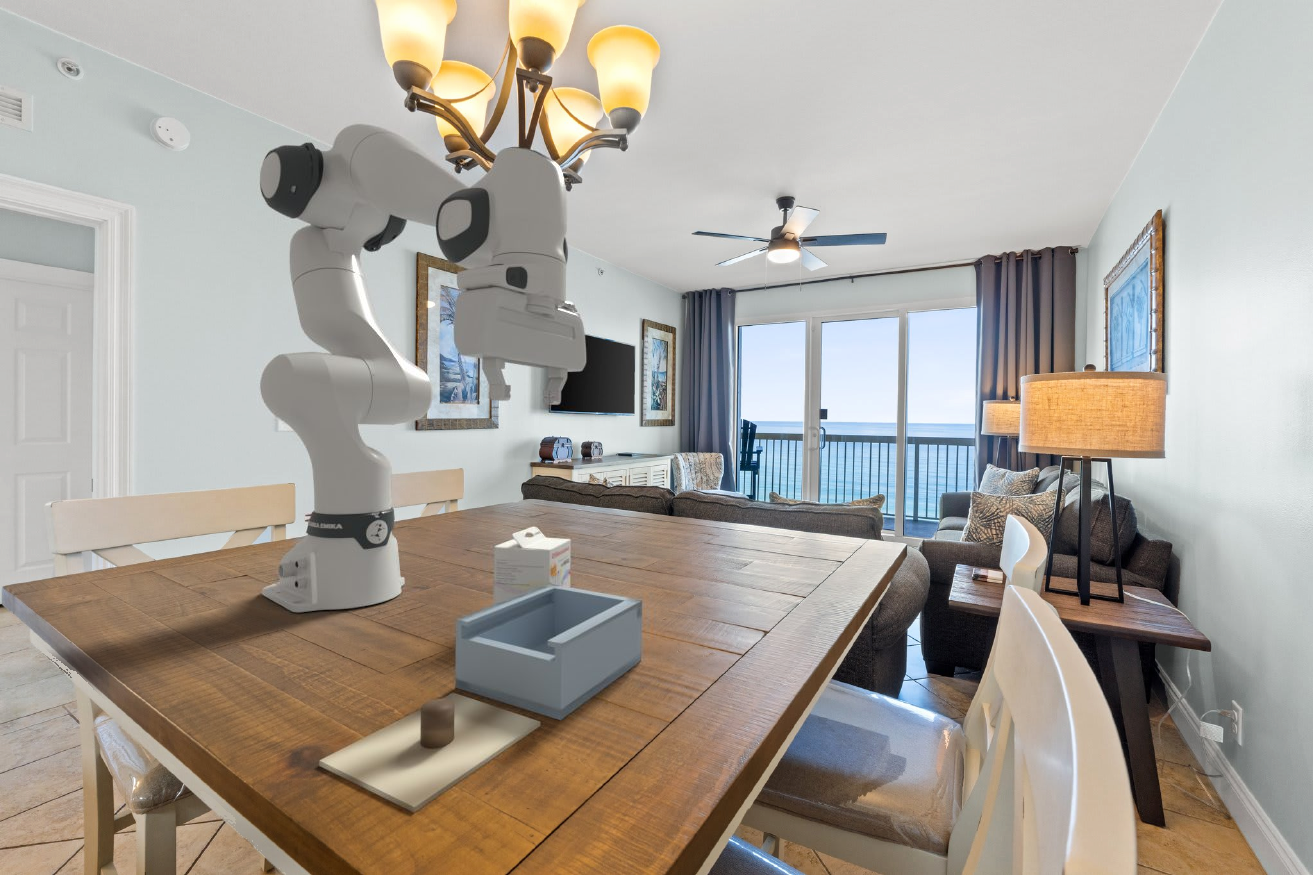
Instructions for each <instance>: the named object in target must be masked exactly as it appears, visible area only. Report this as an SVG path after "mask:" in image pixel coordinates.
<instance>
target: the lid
mask: <svg viewBox="0 0 1313 875" xmlns="http://www.w3.org/2000/svg"><path fill="white" fill-rule="evenodd" d="M539 727H541V721H539V720H537V719H533V718H530V717H528V716H525V715H522V714H519V713H515V712H513V711H511V710H510V711H509V710H507V709H503V708H500V707H497V706H494V705H491V704H488V703H486V702H483V701H480V700H476V699H473V698H472V697H467V696H465V695H461V694H459V693H455V692H452V693H449V694H448V695H446V696H444V697H442V698H435V699H432V700H429V701H426V702H425V703H423V704H422V705H421V707H420V709H418V710H417V711H414V712H413V713H410V714H408V715H406V716H405V717H402V718H400V719H399V720H397V721H394V722H392V723H391V724H389V725H387V726H384V727H382V728H381V729H378V730H376V731H375V732H373V733H371V734H368V735H366V736H365V737H363V738H361V739H359V740H357V741H355V742H353V743H351V744H349V745H347V746H345V747H343V748H341V749H339V750H337V751H335V752H333V753H331V754H329V755H327V756H325V757H323V758H322V759H319V761H318V763H319V764H318V765H319V767H321V768H323V769H325V770H327V771H329V772H331V773H334V775H338V776H339V777H341V778H343V779H345V780H347V781H349V782H352V783H353V784H356V785H357V786H360V787H361V788H364V789H366V790H367V791H369V792H372V793H373V794H376V795H378V796H380V797H382V798H383V799H385V800H388V801H390V802H391V803H394V804H396V805H398V806H400V807H402V808H404V809H406V810H408V811H410V812H412V813H414V814H415V813H417V812H418V811H420V810H421V809H423V808H424V807H425V806H426V804H427V805H428V804H430V803H431V802H433V801H434V800H436V799H437V798H438V797H439V795H440V796H441V795H443V794H444V793H446V792H447V791H449V790H450V789H451V788H453V787H454V786H456V785H457V784H458V783H460V782H462V780H464V779H466V778H467V777H468V776H470V775H471V774H473V773H474V772H475V771H477V770H479V769H480V768H481V767H483V766H485V765H486V764H487V763H489V762H490V761H491V760H493V759H494V758H496V757H498V756H499V755H500V754H502V753H503V752H505V751H506V750H507V749H509V748H510V747H512V746H513V745H514V744H516V743H517V742H519V741H521V740H522V739H523V738H524V737H525V738H526V736H528V735H529V734H530V733H532V732H533V731H534V730H536V729H538V728H539ZM436 797H437V798H436ZM429 802H430V803H429ZM423 806H424V807H423ZM417 810H418V811H417Z"/></svg>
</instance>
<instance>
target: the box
mask: <svg viewBox="0 0 1313 875" xmlns="http://www.w3.org/2000/svg"><path fill="white" fill-rule="evenodd" d="M642 631H643V600H642V599H638V598H630V597H627V596H620V595H615V594H609V593H603V592H597V591H593V590H586V589H580V588H576V587H571V586H570V587H564V586H559V585H553V584H548V585H545V586H543V587H540V588H537V589H535V590H532V591H529V592H527V593H524V594H522V595H519V596H516V597H514V598H511V599H508V600H506V601H503V602H500V603H498V604H495V605H494V604H493V605H490V606H488V607H485V608H482V609H480V610H477V611H474V612H471V613H468V614H466V615H462V616H461V617H458V618H456V619H455V671H454V672H455V676H454V678H455V680H454V681H455V682H454V685H455V686H454V687H455V689H458V690H462V691H466V692H469V693H471V694H475V695H478V696H480V697H484V698H488V699H491V700H493V701H498V702H500V703H504V704H507V705H510V706H513V707H516V708H519V709H523V710H527V711H529V712H533V713H536V714H538V715H539V714H540V715H543V716H545V717H549V718H552V719H556V720H559V721H562V720H563V719H565V718H566V717H567V716H568V715H570V714H571V713H572V712H574V711H575V710H577V709H578V708H580V707H581V706H582V705H584V704H585V703H586V702H588V701H589V700H590V699H592V698H593V697H594V696H596V695H597V694H599V693H600V692H601V691H602V690H604V689H605V688H607V687H608V686H609V685H611V684H612V683H614V681H616V680H617V679H618V678H621V677H622V676H623V675H624V674H626V673H627V672H628V671H629V670H631V669H633V667H635V666H637V665H638V664H639V663H640V662H642V644H643V643H642V641H643V640H642V636H643V632H642Z"/></svg>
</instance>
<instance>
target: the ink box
mask: <svg viewBox="0 0 1313 875" xmlns="http://www.w3.org/2000/svg"><path fill="white" fill-rule="evenodd" d="M511 534H512V535H511V536H512V538H513V539H510V540H508V541H504V542H502V543H499V544H496V545H495V546H494V545H493V546H494V547H493V605H495V604H498V603H500V602H503V601H506V600H508V599H511V598H514V597H516V596H519V595H522V594H524V593H527V592H529V591H532V590H535V589H537V588H540V587H543V586H545V585H548V584H553V585H559V586H564V587H570V588H571V546H572V544H571V542H572V540H571V539H570V538H555V537H554V538H553V537H546V536H545V535H544V534H543V533H542V531H541V530H540V529H539V528H538V527H536V526H531V527H528V528H526V529H523V530H520V531H516V532H513V533H511ZM526 534H531V535H532V536H529V537H528V536H526Z"/></svg>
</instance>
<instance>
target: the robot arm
mask: <svg viewBox="0 0 1313 875" xmlns="http://www.w3.org/2000/svg"><path fill="white" fill-rule="evenodd" d="M494 158H495V159H494V161H493V162H492V165H491V166H490V167H491V168H490V169H489V170H488V172H487V173H486V174H485V175H484V176H483V177H481V178H480V179H478V181H477V182H475V183H474V184H473V185H472V186H468V185H467V183H464V182H463V181H462V180H461V179H459V178H458V177H456V176H455V175H454V174H452V173H451V172H450V171H449V170H447V169H446V168H445V167H443V166H442V165H441V164H440V163H438V162H437V161H436V160H435V159H433V157H431V156H430V155H429V154H427V153H426V152H424V150H422V149H421V148H420V147H418V146H416V145H415V144H413V143H412V142H411V141H409V140H408V139H406V138H405V137H403V136H401V135H399V134H398V133H396V132H393V131H391V130H389V129H386V128H383V127H380V126H376V125H372V124H364V123H356V124H351V125H348V126H345V127H344V128H342V129H341V131H340V132H338V134H337V135H336V137H335V139H334V142H333V144H332V147H331V149H329V150H320V149H318V148H316V147H315V145H314V144H313V142H304V143H302V144H300V145H294V144H293V145H289V144H287V145H280V146H278V147H275V148H273V149H271V150H269V151H268V152H267V154H266V155H265V157H264V159H263V162H262V164H261V167H260V172H259V187H260V192H261V196H262V197H263V199H264V201H265V204H266V205H267V206H268V207H269V208H270V209H271V210H274V211H275V212H277V213H279V214H281V215H284V216H285V217H287V218H290V219H291V220H292V219H298V220H300V221H302V222H305V223H307V224H310V225H306V226H303V227H302V228H300V229H298V230H297V231H296V232H295V233H294V234H293V235H292V237H291V240H290V243H289V272H290V273H289V274H290V280H291V285H292V291H293V295H294V301H295V305H296V309H297V313H298V314H297V316H298V319H299V323H300V327H301V329H302V331H303V332H304V334H305V335H306V336H307V337H308V339H309V340H310V341H311V342H313V343H314V344H315V345H317V346H319V347H321V348H323V349H324V350H326V351H327V352H317V351H306V352H303V351H302V352H291V353H281V354H278V355H276V356H275V357H273V358H272V359H271V360H270V361H269V362H268V364H267V365H266V366H265V368H264V370H263V372H262V374H261V377H260V383H259V384H260V385H259V386H260V387H259V390H260V394H261V398H262V400H263V402H264V405H265V406H266V407H267V409H268V410H269V411H270V413H272V414H273V415H274V416H275V417H277V418H278V419H279V420H281V421H283V422H284V423H285V424H287V426H289V428H290V429H292V430H293V431H294V432H295V433H296V435H297V436H298V437H299V439H300V440H301V442H302V444H303V445H304V447H305V449H306V450H307V453H308V455H309V459H310V462H311V467H312V476H313V478H312V479H313V480H312V481H313V494H314V495H313V497H314V498H313V499H314V503H313V504H314V506H313V509H314V510H313V511H312V512H311V513H308V514H305V515H304V516H305V517H309V518H308V519H304V522H308V523H307V528H306V532H305V533H306V534H307V535H305V536H304V537H303V538H302V539H301V540H300V541H299V542H298V543H297V544H296V545H295V546H293V547H292V549H290V550H289V551H287V552H286V554H284V555H283V557H282V558H281V561H280V564H279V565H278V568H277V570H278V571H277V572H278V575H279V581H278V582H275V583H272V584H270V585H267V586H264V587H263V588H262V590H261V595H262V596H264V597H265V598H268V599H269V600H271V601H273V602H275V603H276V604H278V605H280V606H282V607H284V608H285V609H287V610H289V611H290V612H293V613H304V612H313V611H323V610H324V611H325V610H345V609H355V608H361V607H365V606H371V605H376V604H379V603H383V602H386V601H389V600H391V599H394V598H396V597H398V596H399V595H401V593H402V587H403V586H404V585H405V583H406V581H405V579H406V578H405V577H404V576H401V570H400V569H401V568H400V558H399V556H400V555H399V547H398V540H397V538H396V537H395V536H394V534H393V532H392V531H393V530H394V529H395V521H396V515H395V509H394V508H393V507H392V476H393V475H392V474H393V473H392V472H393V470H392V468H393V467H392V466H391V463H390V461H389V459H388V458H387V457H386V456H385V455H384V454H383V452H380V451H378V450H377V449H375V448H373V447H370V446H369V445H367V444H366V443H365V441H364V440H363V439H362V436H361V434H360V432H359V431H360V430H359V425H378V426H379V425H380V426H381V425H383V426H384V425H385V426H386V425H387V426H388V425H389V426H390V425H391V426H393V425H401V424H405V423H410V422H414V421H419V420H421V419H422V418H424V416H426V414H427V413H428V411H429V410H430V408H431V406H432V402H433V397H434V393H433V392H434V391H433V384H432V382H431V380H430V378H429V376H428V374H427V373H426V371H424V370H423V369H422V368H420V367H419V366H417V365H415V363H413V362H411V361H410V360H409V359H407V358H406V357H405V356H404V355H403V354H402V353H401V352H400V351H399V350H398V348H396V346H395V345H394V344H393V343H392V342H391V340H390V339H389V337H388V336H387V334H386V333H385V332H384V331H383V329H382V327H381V325H380V323H379V322H378V319H377V315H376V313H375V309H374V307H373V304H372V300H371V297H370V292H369V289H368V285H367V281H366V279H365V278H366V277H365V274H364V271H363V267H362V263H361V252H362V250H363V249H364V250H365V251H367V252H370V253H371V252H372V253H373V252H378V251H380V249H381V247H383V246H385V245H388V244H390V243H391V242H393V241H394V240H395V239H397V238H398V237H399V236H400V235H401V234H402V233H403V232H404V230H405V228H406V225H407V222H408V221H410V222H413V223H414V222H415V223H417V224H418V223H419V224H423V225H426V226H431V227H435V233H436V239H437V243H438V247H439V248H440V251H441V253H442V254H443V256H444V257H445V258H446V260H447V261H449V262H450V263H453V264H455V265H456V266H459V267H462V268H464V269H465V270H460V271H458V272H457V274H456V285H457V288H458V289H459V290H460V291H461V292H460V293H459V294H458V295H457V297H456V300H455V305H454V315H453V341H454V342H453V343H454V345H455V348H456V349H457V352H458V353H459V354H460V356H464V357H470V358H476V359H481V362H482V363H481V367H482V368H481V369H482V371H483V373H484V376H485V378H486V380H487V383H488V384H489V398H490V400H491V401H496V402H497V401H499V402H500V401H501V402H506V401H507V402H508V401H510V400H511V397H512V395H511V392H512V391H511V387H512V385H510V384H507V382H506V379H505V376H504V374H503V370H505V369H506V363H507V364H513V365H514V364H515V365H520V366H526V367H531V368H538V369H545V370H547V377H548V379H549V382H548V386H547V389H546V390H545V389H543V391H542V397H543V398H542V402H543V403H544V404H545V405H560V404H561V402H562V390H563V388H564V387H565V384H566V382H567V380H568V372H570V373H572V372H574V373H575V372H582V371H583V370H584V369H585V367H586V365H587V347H586V346H587V345H586V334H585V326H584V323H583V320H582V318H581V314H580V313H579V311H578V310H577V308H576V305H575V304H574V303H573V302H571V301H567V299H566V298H567V296H566V295H567V291H566V290H567V263H568V260H569V259H568V258H569V249H568V248H569V247H568V243H567V238H566V234H567V226H568V224H567V222H568V208H567V207H568V206H567V205H568V204H567V191H566V184H565V177H564V173H563V171H562V169H561V165H559V164H558V163H557V162H556V161H555V160H553V159H552V158H550V157H549V156H547V155H546V154H543V153H541V152H540V151H537V150H535V149H530V148H526V147H521V146H510V147H505V148H502V149H500V150H499V151H498V153H497V154H496V156H495V157H494ZM328 352H329V353H328Z"/></svg>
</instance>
